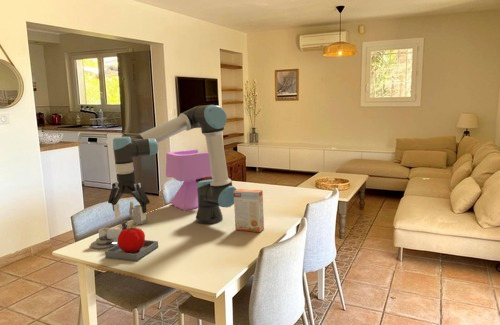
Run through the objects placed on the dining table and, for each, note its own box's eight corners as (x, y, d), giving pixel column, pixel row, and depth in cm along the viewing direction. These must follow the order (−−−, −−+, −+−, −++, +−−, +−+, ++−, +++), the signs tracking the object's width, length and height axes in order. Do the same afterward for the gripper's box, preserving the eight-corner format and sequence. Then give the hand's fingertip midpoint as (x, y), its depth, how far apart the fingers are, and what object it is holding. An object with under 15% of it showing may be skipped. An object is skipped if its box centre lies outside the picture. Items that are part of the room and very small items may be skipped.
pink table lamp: (215, 205, 246) (212, 152, 240) (182, 211, 233) (178, 155, 227) (199, 198, 265) (196, 149, 259) (168, 204, 252) (164, 152, 247)
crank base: (125, 240, 186) (124, 235, 186) (107, 250, 174) (106, 244, 174) (103, 238, 190) (103, 233, 190) (84, 247, 178) (84, 242, 178)
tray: (158, 247, 175) (157, 241, 175) (137, 261, 160) (136, 254, 159) (128, 244, 180) (128, 238, 180) (105, 257, 165) (104, 251, 165)
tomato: (120, 257, 163) (117, 233, 161) (117, 249, 173) (115, 225, 171) (148, 252, 167) (146, 228, 166) (144, 244, 178) (142, 221, 176)
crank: (97, 239, 180) (95, 222, 179) (102, 236, 185) (101, 219, 183) (125, 240, 177) (123, 223, 176) (130, 237, 182) (129, 220, 181)
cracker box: (264, 229, 195) (263, 189, 191) (259, 233, 189) (258, 192, 186) (240, 226, 201) (238, 188, 197) (235, 230, 195) (233, 190, 192)
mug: (139, 225, 208) (137, 204, 207) (125, 223, 215) (123, 202, 213) (149, 222, 215) (148, 201, 213) (135, 219, 221) (133, 199, 219)
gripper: (154, 170, 164) (159, 217, 167) (107, 170, 172) (112, 215, 176) (144, 174, 157) (149, 223, 161) (96, 173, 165) (101, 220, 169)
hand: (130, 219), depth 168 cm, fingers open, 13 cm apart
